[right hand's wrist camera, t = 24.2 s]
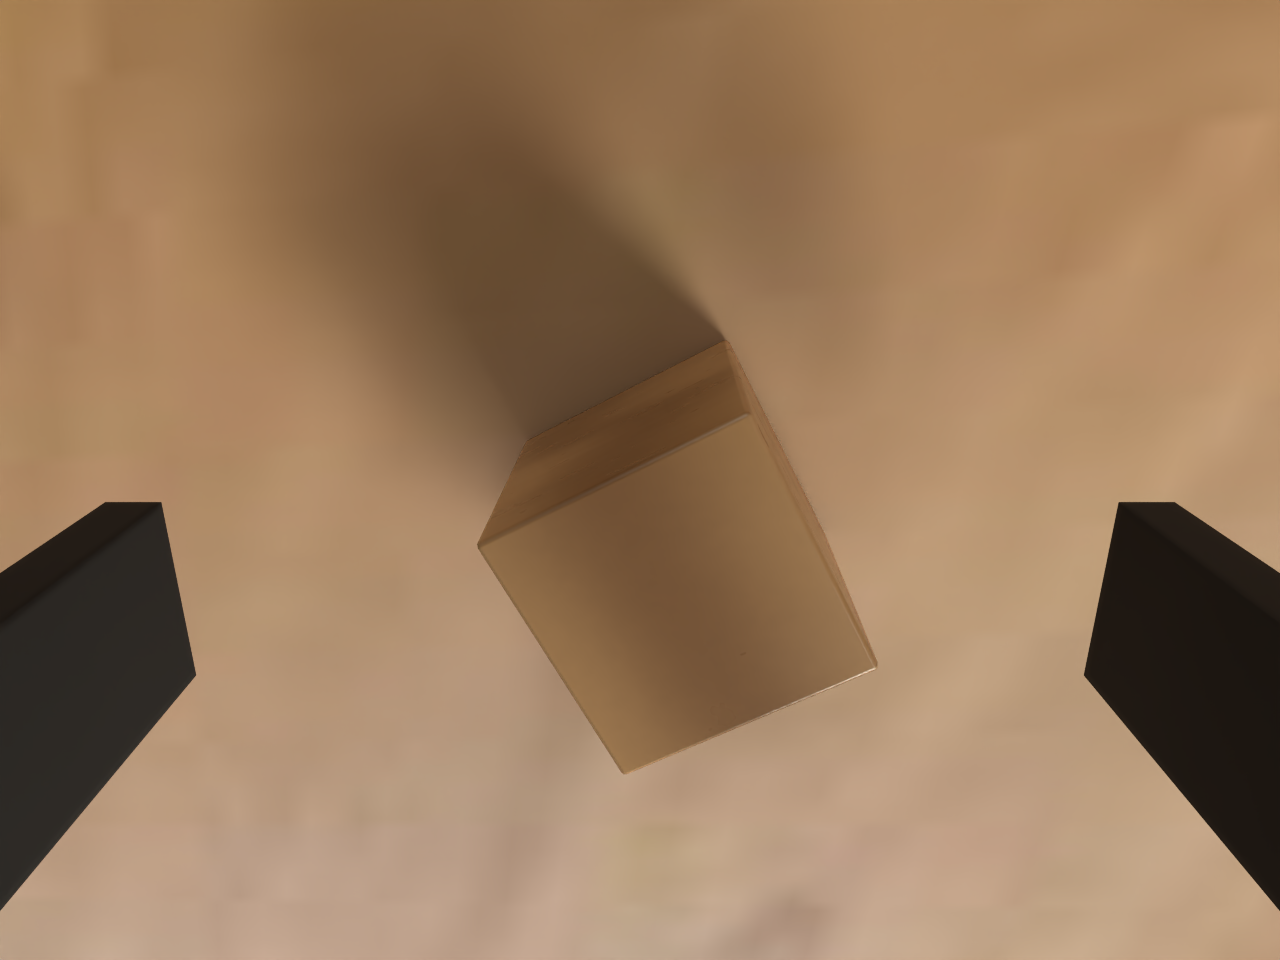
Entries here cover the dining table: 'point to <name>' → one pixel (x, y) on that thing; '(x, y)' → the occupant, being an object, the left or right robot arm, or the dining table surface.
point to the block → (674, 564)
